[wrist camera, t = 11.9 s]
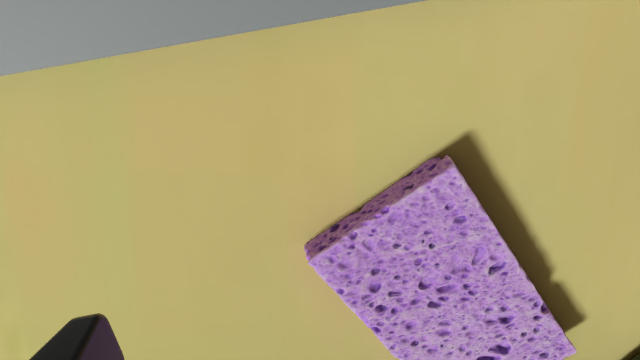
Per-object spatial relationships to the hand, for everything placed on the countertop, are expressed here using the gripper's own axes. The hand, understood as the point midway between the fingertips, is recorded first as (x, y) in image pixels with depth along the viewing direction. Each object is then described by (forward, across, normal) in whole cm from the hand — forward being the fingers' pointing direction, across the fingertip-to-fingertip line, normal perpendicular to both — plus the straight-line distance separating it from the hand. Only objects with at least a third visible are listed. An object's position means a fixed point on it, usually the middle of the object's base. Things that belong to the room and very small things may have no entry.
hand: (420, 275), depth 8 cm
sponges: (+14, -4, +12) cm, 19 cm away
